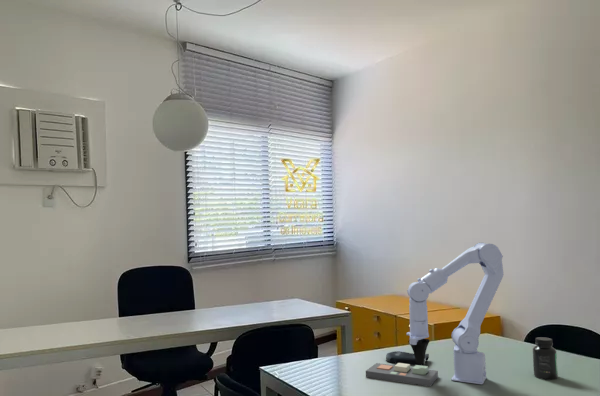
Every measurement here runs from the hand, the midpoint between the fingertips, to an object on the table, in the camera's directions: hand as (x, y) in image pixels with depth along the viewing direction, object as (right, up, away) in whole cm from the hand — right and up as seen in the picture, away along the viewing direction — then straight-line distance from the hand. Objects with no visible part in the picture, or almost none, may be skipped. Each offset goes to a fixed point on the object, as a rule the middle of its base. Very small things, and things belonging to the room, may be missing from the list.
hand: (420, 362), depth 153 cm
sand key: (-5, -3, +3) cm, 7 cm away
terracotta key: (-10, -5, +6) cm, 13 cm away
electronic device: (0, -7, +19) cm, 21 cm away
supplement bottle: (+40, -4, -1) cm, 40 cm away
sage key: (0, -3, 0) cm, 3 cm away
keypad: (-6, -5, +2) cm, 8 cm away
